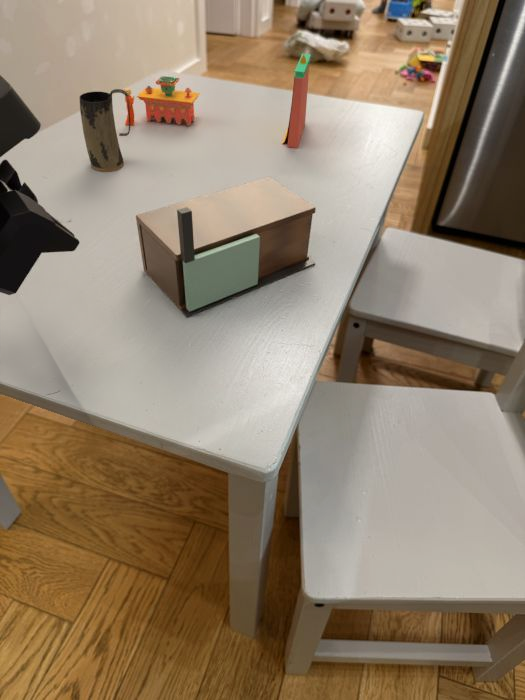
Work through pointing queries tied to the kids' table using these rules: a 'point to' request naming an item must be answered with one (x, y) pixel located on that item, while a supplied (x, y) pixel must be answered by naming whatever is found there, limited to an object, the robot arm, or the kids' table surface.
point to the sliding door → (215, 266)
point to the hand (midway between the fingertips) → (74, 242)
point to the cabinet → (229, 234)
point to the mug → (101, 130)
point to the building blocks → (181, 102)
